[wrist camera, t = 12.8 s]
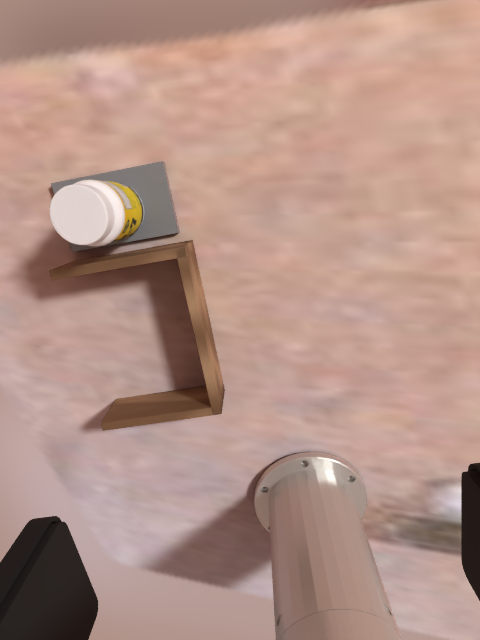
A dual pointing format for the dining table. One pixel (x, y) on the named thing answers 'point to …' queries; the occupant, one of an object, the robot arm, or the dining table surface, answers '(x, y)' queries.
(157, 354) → the dining table surface
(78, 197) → the supplement bottle
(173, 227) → the slate coaster
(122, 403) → the walnut bay
